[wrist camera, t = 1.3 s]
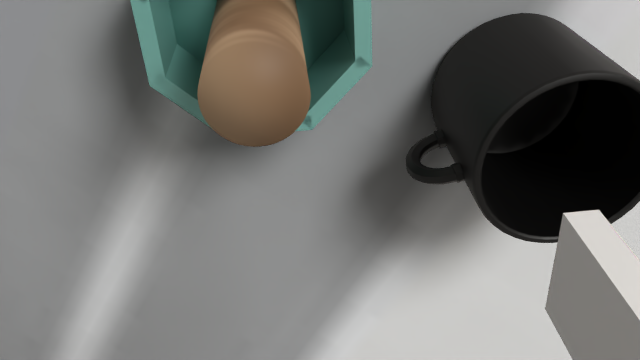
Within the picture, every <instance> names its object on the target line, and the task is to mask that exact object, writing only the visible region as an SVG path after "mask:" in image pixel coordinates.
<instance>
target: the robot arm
mask: <svg viewBox="0 0 640 360" xmlns="http://www.w3.org/2000/svg"><path fill="white" fill-rule="evenodd" d="M545 310H546V311H547V313H548V315H549V317H550V319H551V321H552V322H553V324H554V326H555V328H556V330H557V332H558V333H559V335H560V337H561V339H562V341H563V343H564V344H565V346H566V348H567V350H568V352H569V354H570V355H571V357H572V359H573V360H640V260H639V259H638V257H637V256H636V255H635V254H634V252H633V251H632V250H631V249H630V248H629V246H628V245H627V244H626V243H625V241H624V240H623V239H622V238H621V236H620V235H619V234H618V233H617V231H616V230H615V229H614V228H613V226H612V225H611V224H610V223H609V222H608V220H607V219H606V218H605V217H604V215H603V214H602V213H601V212H600V210H590V211H579V212H569V213H563V216H562V222H561V227H560V232H559V238H558V243H557V248H556V254H555V259H554V264H553V270H552V275H551V281H550V286H549V291H548V297H547V302H546V307H545Z"/></svg>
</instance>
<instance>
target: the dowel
mask: <svg viewBox="0 0 640 360" xmlns="http://www.w3.org/2000/svg"><path fill="white" fill-rule="evenodd" d="M197 96H198V104H199V107H200V110H201V113H202V115H203V117H204V119H205V120H206V122H207V123H208V124H209V126H210V127H211V128H212V129H213V130H214V131H215V132H216V133H218V134H219V135H220V136H222V137H223V138H225V139H227V140H229V141H231V142H233V143H236V144H239V145H244V146H253V147H255V146H266V145H271V144H274V143H277V142H279V141H282V140H283V139H285V138H287V137H288V136H290V135H291V134H293V133H294V132H295V131H296V130H297V129H298V128H299V126H300V125H301V124H302V122H303V121H304V119H305V117H306V115H307V113H308V110H309V106H310V100H311V91H310V85H309V79H308V73H307V67H306V61H305V55H304V49H303V42H302V36H301V30H300V24H299V18H298V12H297V6H296V0H217V3H216V7H215V12H214V16H213V21H212V25H211V30H210V34H209V39H208V43H207V47H206V52H205V56H204V61H203V65H202V70H201V74H200V79H199V84H198V92H197Z"/></svg>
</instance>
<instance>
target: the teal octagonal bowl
mask: <svg viewBox="0 0 640 360" xmlns="http://www.w3.org/2000/svg"><path fill="white" fill-rule="evenodd" d="M130 1H131V6H132V10H133V15H134V19H135V23H136V28H137V32H138V37H139V41H140V46H141V50H142V54H143V59H144V63H145V68H146V72H147V76H148V81H149V85H150V86H151V87H152V88H153V89H155V90H156V91H158V92H159V93H161V94H162V95H164V96H165V97H167V98H168V99H169V100H171V101H172V102H174V103H175V104H177V105H178V106H180V107H181V108H182V109H184V110H185V111H187V112H188V113H190V114H191V115H193V116H194V117H196V118H197V119H198V120H200V121H201V122H203V123H204V124H206V125H207V126H209V124H208V123H207V122H206V120H205V119H204V117H203V115H202V113H201V110H200V107H199V104H198V96H197V92H198V84H199V79H200V74H201V70H202V65H203V61H204V56H205V52H206V47H207V43H208V39H209V34H210V30H211V25H212V21H213V16H214V12H215V7H216V3H217V0H130ZM296 6H297V12H298V18H299V24H300V30H301V36H302V42H303V49H304V55H305V61H306V67H307V73H308V79H309V85H310V91H311V100H310V106H309V110H308V113H307V115H306V117H305V119H304V121H303V122H302V124H301V125H300V126H299V128H298V129H297V130H296V131H303V130H312V129H313V128H314V127H315V126H316V125H317V124H318V123H319V122H320V121H321V120H322V119H323V118H324V116H325V115H326V114H327V113H328V112H329V111H330V110H331V109H332V108H333V107H334V106H335V105H336V104H337V103H338V102H339V101H340V100H341V99H342V97H343V96H344V95H345V94H346V93H347V92H348V91H349V90H350V89H351V88H352V87H353V86H354V85H355V84H356V83H357V82H358V81H359V80H360V78H361V77H362V76H363V75H364V74H365V73H366V72H367V71H368V70H369V69H370V68H371V67H372V27H371V0H296ZM209 127H210V126H209ZM210 128H211V127H210Z"/></svg>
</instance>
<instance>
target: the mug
mask: <svg viewBox="0 0 640 360" xmlns="http://www.w3.org/2000/svg"><path fill="white" fill-rule="evenodd" d="M431 108H432V114H433V119H434V122H435V124H436V127H437V129H438V130H437V131H434V134H432V135H430V136H428V137H425V138H423V139H422V140H420V141H419V142H417V143H416V144H415V145H414V146H413V147H412V148H411V149H410V151H409V152H408V154H407V156H406V167H407V171H408V173H409V174H410V175H411V176H412V177H413V178H414V179H416V180H418V181H421V182H424V183H429V184H446V183H451V182H457V183H458V182H461V181H464V180H465V182H466V184H467V186H468V187H469V189H470V191H471V193H472V195H473V197H474V199H475V201H476V203H477V204H478V206H479V208H480V210H481V211H482V213H483V215H484V216H485V217H486V218H487V219H488V220H489V221H490V222H491V223H492V224H493V225H494V226H495V227H497V228H498V229H499V230H501V231H502V232H504V233H506V234H508V235H510V236H513V237H515V238H518V239H521V240H525V241H530V242H538V243H555V242H558V238H559V232H560V227H561V222H562V216H563V213H569V212H579V211H590V210H600V212H601V213H602V214H603V215H604V217H605V218H606V219H607V220H608V222H609V223H610V224H612V223H613V222H615V221H616V220H618V219H619V218H621V217H622V216H623V215H625V214H626V213H627V212H628V211H630V210H631V209H632V208H633V207H634V206H635V205H636V204H637V203H638V202H639V201H640V81H639V80H638V79H637V78H635V77H634V76H633V75H631V74H630V73H629V72H627V71H626V70H625V69H623V68H622V67H621V66H619V65H618V64H617V63H615V62H614V61H613V60H611V59H610V58H609V57H607V56H606V55H605V54H603V53H602V52H601V51H599V50H598V49H597V48H595V47H594V46H593V45H591V44H590V43H589V42H587V41H586V40H585V39H583V38H582V37H581V36H579V35H578V34H577V33H575V32H574V31H573V30H571V29H570V28H568V27H567V26H566V25H564V24H562V23H561V22H559V21H557V20H555V19H553V18H550V17H548V16H544V15H539V14H530V13H520V14H512V15H507V16H503V17H499V18H496V19H493V20H491V21H488V22H486V23H484V24H482V25H480V26H478V27H477V28H475V29H474V30H472V31H470V32H469V33H468V34H467V35H465V36H464V37H463V38H462V39H461V40H460V41H459V42H458V43H457V44H456V45H455V46H454V47H453V48H452V49H451V50H450V52H449V53H448V55H447V56H446V57H445V59H444V61H443V62H442V64H441V66H440V68H439V70H438V72H437V75H436V78H435V81H434V84H433V89H432V95H431ZM446 146H447V148H448V150H449V152H450V154H451V155H452V157H453V159H454V161H455V164H452V165H451V166H450V167H445V168H429V167H426V166H424V165H423V164H421V162H420V160H421V159H422V158H423V156H424V155H425V154H427V153H428V152H430V151H431V150H433V149H435V148H437V147H439V148H443V147H446Z"/></svg>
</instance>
